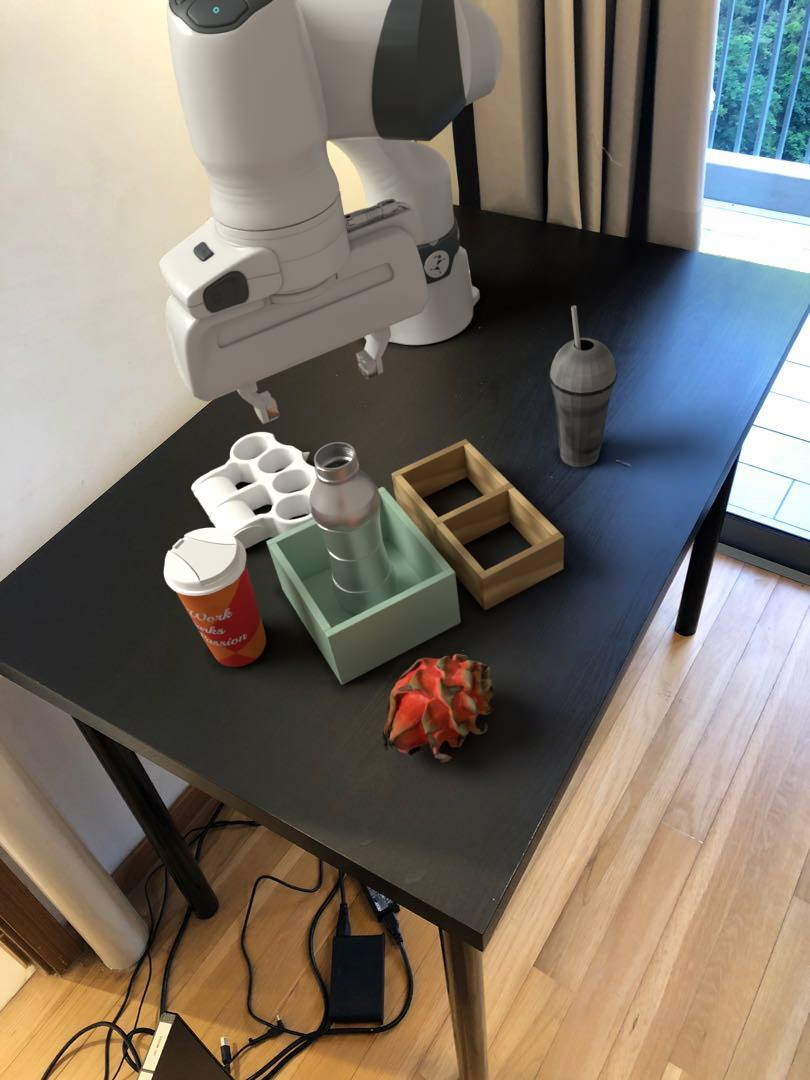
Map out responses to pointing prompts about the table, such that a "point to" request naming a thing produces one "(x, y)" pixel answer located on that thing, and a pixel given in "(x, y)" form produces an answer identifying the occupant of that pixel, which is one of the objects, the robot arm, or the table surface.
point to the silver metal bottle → (351, 529)
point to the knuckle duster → (258, 489)
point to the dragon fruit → (437, 704)
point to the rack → (479, 522)
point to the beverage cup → (581, 396)
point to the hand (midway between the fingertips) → (320, 394)
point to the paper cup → (217, 594)
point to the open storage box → (385, 627)
